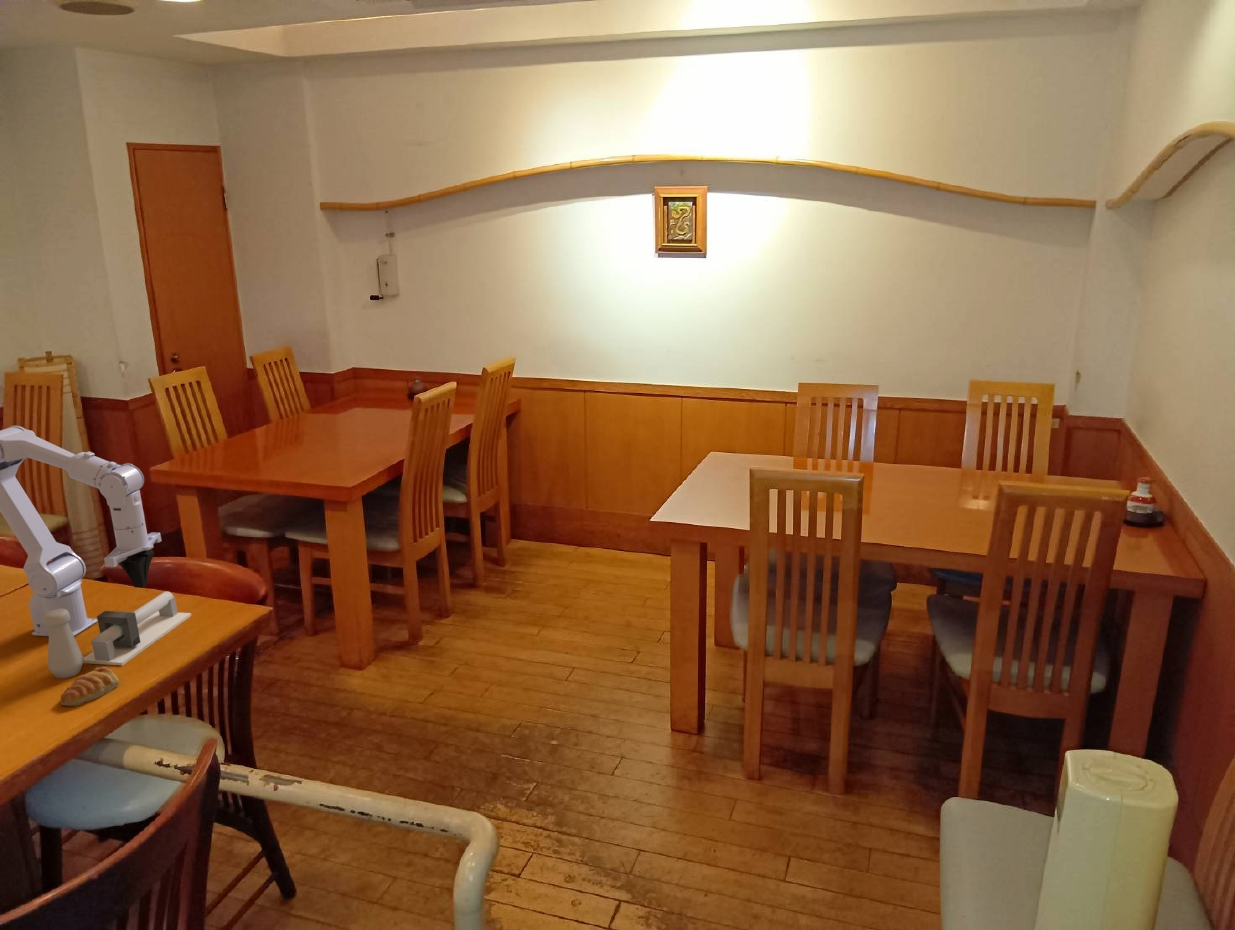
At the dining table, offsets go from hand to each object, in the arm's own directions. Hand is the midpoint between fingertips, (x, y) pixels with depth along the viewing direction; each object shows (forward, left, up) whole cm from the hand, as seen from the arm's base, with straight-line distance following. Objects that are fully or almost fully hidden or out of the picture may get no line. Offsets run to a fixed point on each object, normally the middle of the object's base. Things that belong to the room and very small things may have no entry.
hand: (140, 586), depth 181 cm
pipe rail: (0, -3, -10) cm, 11 cm away
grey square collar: (0, -8, -9) cm, 12 cm away
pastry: (+6, -24, -11) cm, 27 cm away
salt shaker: (-4, -18, -11) cm, 21 cm away
